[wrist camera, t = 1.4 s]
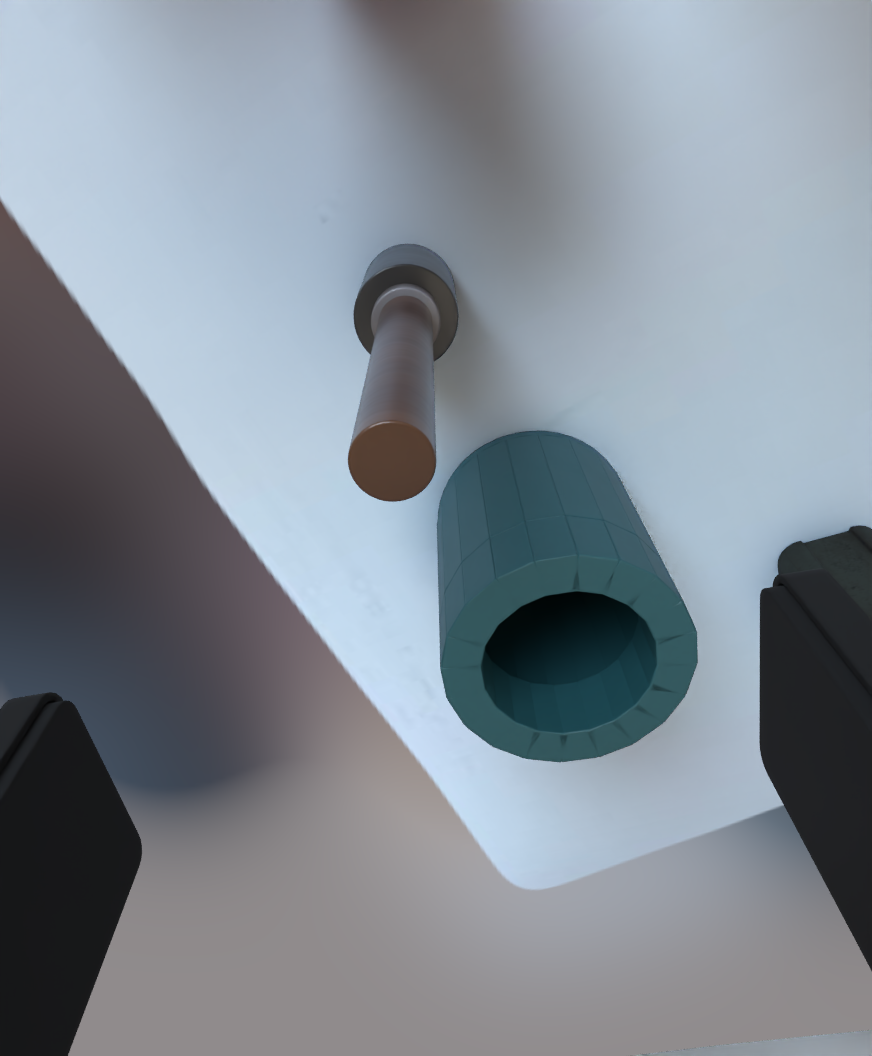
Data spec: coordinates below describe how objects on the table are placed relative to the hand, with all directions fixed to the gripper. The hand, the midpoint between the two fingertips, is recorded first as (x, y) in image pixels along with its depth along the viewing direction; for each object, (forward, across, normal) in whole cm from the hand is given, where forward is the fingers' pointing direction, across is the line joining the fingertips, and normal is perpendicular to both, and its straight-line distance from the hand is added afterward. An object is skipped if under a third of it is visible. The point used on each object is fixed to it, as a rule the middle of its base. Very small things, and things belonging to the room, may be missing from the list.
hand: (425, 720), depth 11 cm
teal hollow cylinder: (+27, -3, +11) cm, 30 cm away
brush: (+27, 0, -1) cm, 27 cm away
